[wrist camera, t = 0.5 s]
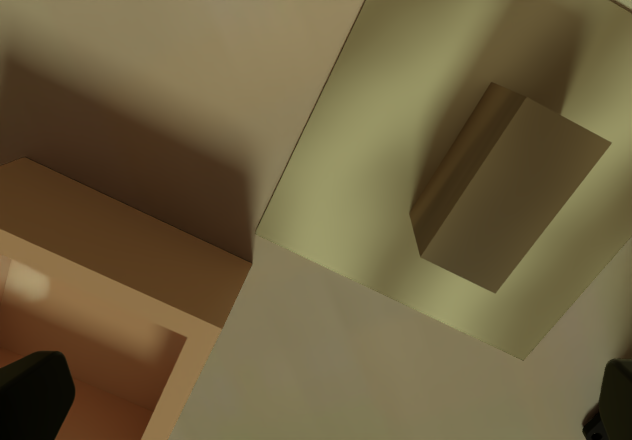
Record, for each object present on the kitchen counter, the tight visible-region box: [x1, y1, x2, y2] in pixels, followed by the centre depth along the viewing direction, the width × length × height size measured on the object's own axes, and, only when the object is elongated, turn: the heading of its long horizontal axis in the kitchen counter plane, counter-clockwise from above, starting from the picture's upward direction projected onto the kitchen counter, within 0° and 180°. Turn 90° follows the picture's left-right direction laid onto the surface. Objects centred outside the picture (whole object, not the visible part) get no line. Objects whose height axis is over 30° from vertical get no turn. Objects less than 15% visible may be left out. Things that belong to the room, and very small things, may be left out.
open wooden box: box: [0, 157, 252, 440], centre depth 21 cm, size 11×11×5 cm
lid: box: [255, 0, 632, 361], centre depth 17 cm, size 14×14×5 cm
